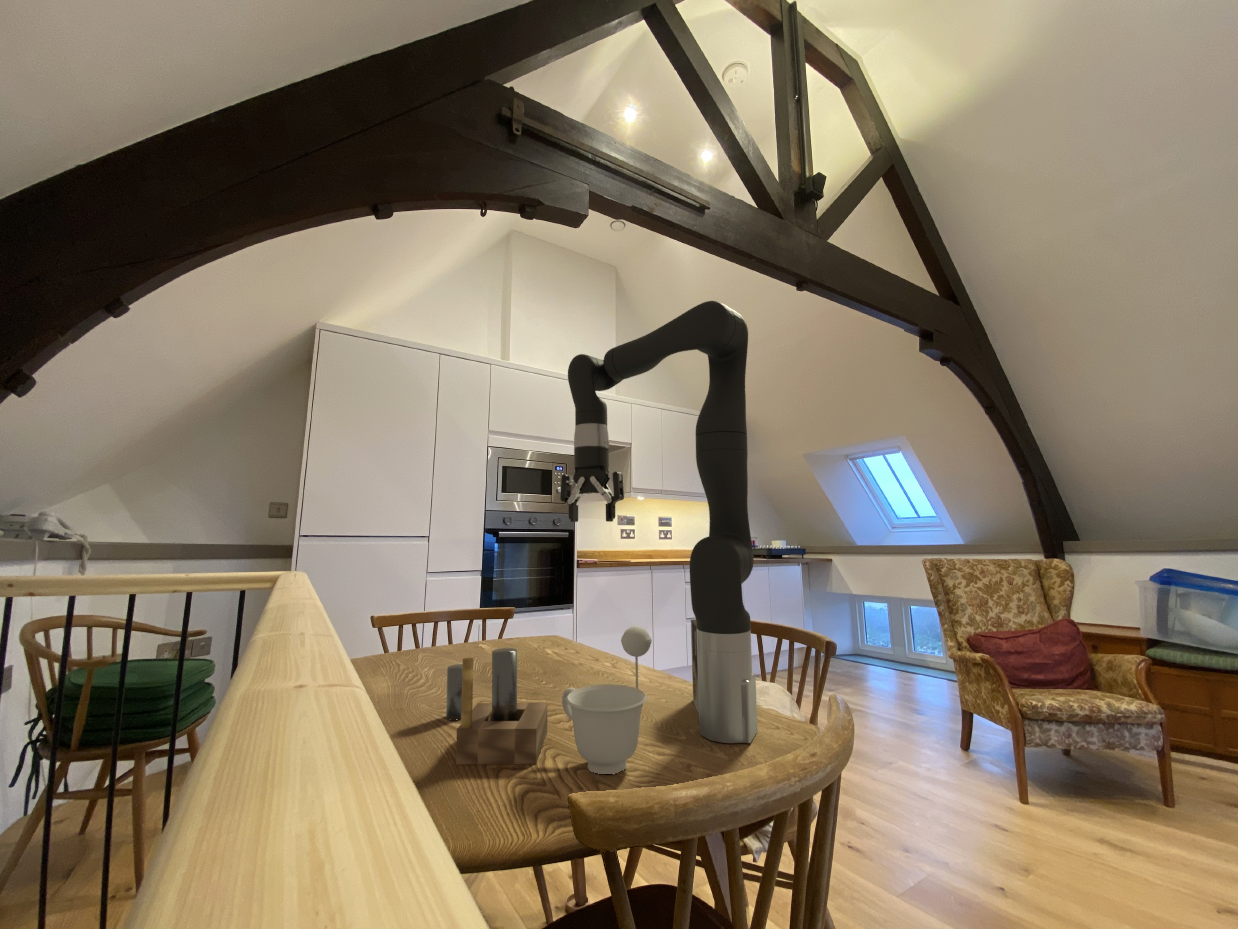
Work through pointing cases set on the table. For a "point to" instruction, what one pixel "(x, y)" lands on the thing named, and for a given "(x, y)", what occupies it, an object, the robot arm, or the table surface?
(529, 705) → the hole block
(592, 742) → the teacup
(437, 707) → the table surface
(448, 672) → the short pin
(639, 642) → the lollipop
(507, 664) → the long pin
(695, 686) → the coffee box
